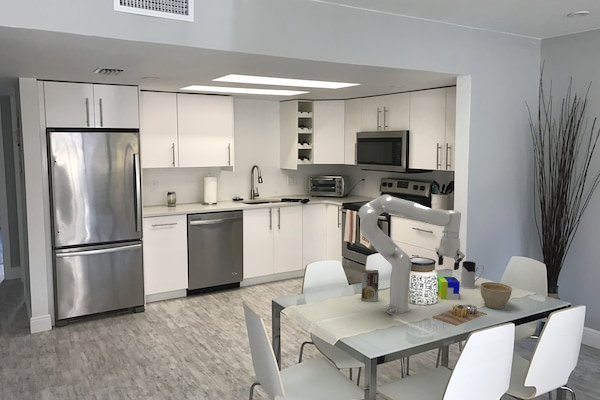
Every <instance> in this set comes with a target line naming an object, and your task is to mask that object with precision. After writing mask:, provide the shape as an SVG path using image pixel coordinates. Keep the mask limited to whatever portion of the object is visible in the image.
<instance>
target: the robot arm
mask: <svg viewBox="0 0 600 400" xmlns="http://www.w3.org/2000/svg"><path fill="white" fill-rule="evenodd" d="M383 213H386V214H391V215H395V216H399V217H403V218H407V219H411V220H413V221H419V222H422V223H425V224H429V225H432V226H433V225H434V226H437V227H444V228H443V230H442V234H443V235H441V239H440V242H439V246H437V247H435V248H434V249H435V253H436V256H437V258H438V260H437V265H438V266H443V265H444V257H447V258H450V259H453V260H454V261H455V262H454V263H453V264H454V265H453V270H454V271H457V270H459V268H460V263H461V262H463V261H464V260H463V259H464V258H465V254H464V252H462V250H461V239H460V231H461V230H460V229H461V220H462V212H461V211H460V210H456V209H454V210H453V209H449V210H446V209H440V208H430V207H427V206H424V205H422V204H420V203H418V202H415V201H412V200H411V201H410V200H407V199H402V198H399V197H396V196H392V195H390V194H382V195H380V196H378V197H376V198H375V199H372V200H371V201H369V202H367V203H365V204H363V205H362V206H361V207H360V208H359V209H358V218H359V219H360V220H361V221H360V231H361V234H362V235H363V237H364V238H365V240H366V241H368V242H369V243H370V245H372V247H373V248H374V249H375V250H376V251H377V252H378V254H380V255H381V256H382V257H383V258H384V259H385V260H386V261H387V262H388V263H389V264H390V265H391V272H390V280H389V281H390V282H389V283H390V284H389V285H390V286H389V303H388V304H387V305H388V306H385V307H384V308H383V312H384V313H388V314H389V315H390V316H396V315H400V314H404V313H408V311H410V310H411V309H410V308H409V297H410V280H411V279H410V278H411V277H410V276H411V271H412V270H411V269H412V259H411V257H410V255H409V254H407V252H405V251H404V250H403V249H401V247H400V246H399V245H398V244H397V243H395V242H394V240H393V239H392V238H391V237H390V236H388V235H386V234H385V232H384V231H383V230H382V229H381V228H380V227H379V226H378V220H379V216H380V215H382V214H383Z"/></svg>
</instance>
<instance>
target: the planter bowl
mask: <svg viewBox="0 0 600 400" xmlns="http://www.w3.org/2000/svg"><path fill="white" fill-rule="evenodd" d="M479 286H480V295H481V299H482V300H483V301H484V304H485V306H486V307H488V308H492V309H504V308H505V305H507V303H508V302H509V300H510V298H511V295H512V291H513V287H512V286H510V285H508V284H505V283H502V282H496V281H495V282H494V281H484V282H481V283H480V285H479Z"/></svg>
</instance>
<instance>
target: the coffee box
mask: <svg viewBox="0 0 600 400" xmlns="http://www.w3.org/2000/svg"><path fill="white" fill-rule="evenodd" d="M379 275H380V273H379V269H361V298H360V299H361V301H362V302H379Z"/></svg>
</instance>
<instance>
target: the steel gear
mask: <svg viewBox="0 0 600 400" xmlns="http://www.w3.org/2000/svg"><path fill="white" fill-rule="evenodd" d="M463 305H464V306H467V307H468V314H470V313H471V314H474V313H475V314H476V313H477V311H478V306H476V305H473V304H471V303H470V304H463Z"/></svg>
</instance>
